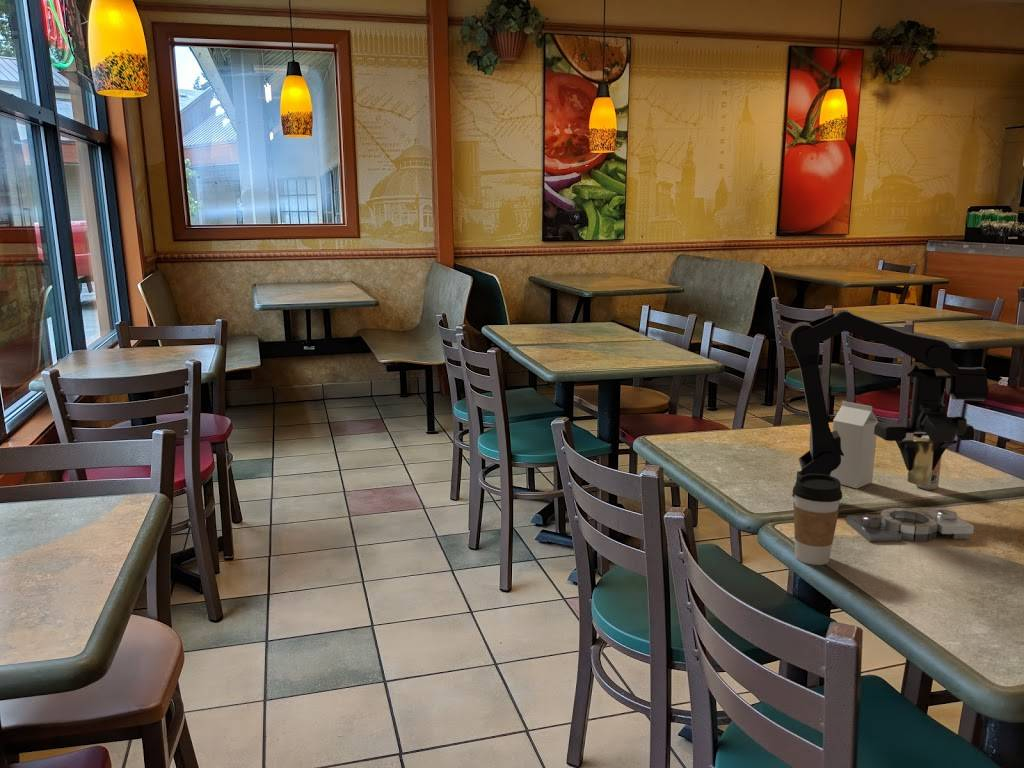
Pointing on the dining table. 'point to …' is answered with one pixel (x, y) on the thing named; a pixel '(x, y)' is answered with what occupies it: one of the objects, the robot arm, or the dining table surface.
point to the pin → (922, 462)
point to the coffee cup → (815, 517)
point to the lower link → (885, 529)
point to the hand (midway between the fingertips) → (920, 470)
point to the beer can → (934, 474)
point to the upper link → (928, 522)
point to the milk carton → (855, 444)
